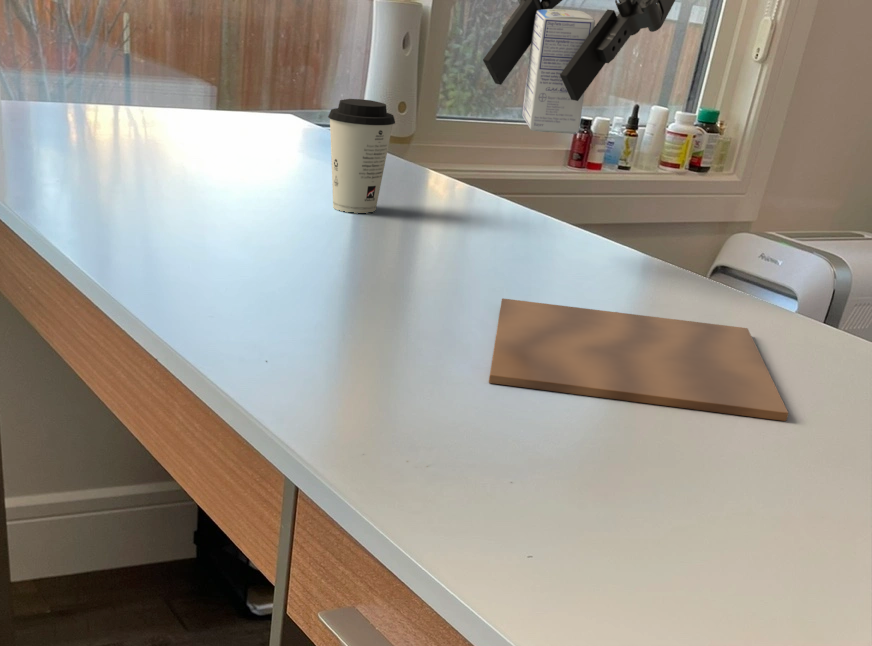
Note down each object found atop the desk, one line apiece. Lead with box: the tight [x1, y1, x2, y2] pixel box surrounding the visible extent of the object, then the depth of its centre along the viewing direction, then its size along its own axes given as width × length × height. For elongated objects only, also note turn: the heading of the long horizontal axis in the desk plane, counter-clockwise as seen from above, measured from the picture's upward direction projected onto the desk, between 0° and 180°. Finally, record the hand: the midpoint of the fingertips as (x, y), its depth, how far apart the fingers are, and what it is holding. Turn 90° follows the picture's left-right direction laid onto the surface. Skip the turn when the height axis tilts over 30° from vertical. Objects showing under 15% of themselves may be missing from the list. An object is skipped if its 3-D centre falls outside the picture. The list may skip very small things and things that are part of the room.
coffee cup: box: [327, 98, 396, 214], centre depth 116 cm, size 7×7×10 cm
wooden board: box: [488, 298, 789, 422], centre depth 83 cm, size 20×20×1 cm
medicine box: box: [521, 8, 596, 135], centre depth 98 cm, size 8×4×9 cm, turn 177°
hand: (529, 79), depth 97 cm, fingers closed on medicine box, 9 cm apart
